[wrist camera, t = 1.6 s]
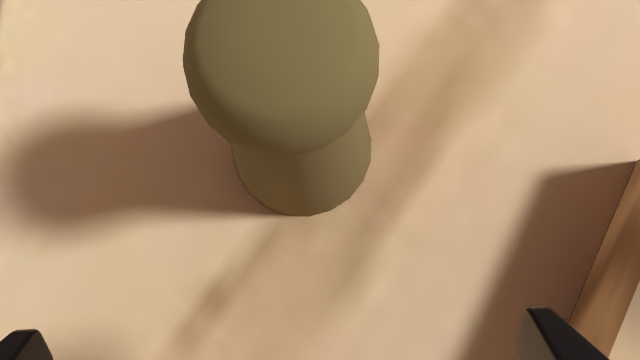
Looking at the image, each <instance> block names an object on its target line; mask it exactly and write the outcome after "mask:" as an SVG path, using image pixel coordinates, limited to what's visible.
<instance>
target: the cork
mask: <svg viewBox="0 0 640 360" xmlns="http://www.w3.org/2000/svg"><path fill="white" fill-rule="evenodd" d="M183 67H184V72H185V76H186V80H187V84H188V88H189V93H190V96H191V98H192V99H193V101H194V102H195V104H196V106H197V107H198V109H199V110H200V112H201V113H202V115H203V116H204V118H205V120H206V121H207V122H208V123H209V125H210V126H211V127H212V128H213V129H215V130H216V131H217V132H218V133H220V134H221V135H222V136H223V137H225V138H226V139H227V140H228V141H230V142H231V147H232V152H233V156H234V160H235V164H236V168H237V172H238V176H239V178H240V179H241V181H242V182H243V184H244V186H245V187H246V189H247V190H248V192H249V193H250V194H251V195H252V196H253V197H254V198H256V199H257V200H258V201H259V202H261V203H262V204H263V205H264V206H266V207H267V208H269V209H272V210H275V211H277V212H280V213H283V214H285V215H294V216H312V215H316V214H319V213H323V212H327V211H330V210H332V209H334V208H335V207H337V206H338V205H340V204H341V203H343V202H344V201H346V200H347V199H349V198H350V197H351V196H352V194H353V193H354V192H355V191H356V189H357V188H358V187H359V186H360V184H361V183H362V182H363V180H364V177H365V174H366V172H367V169H368V166H369V164H370V160H371V137H370V133H369V129H368V125H367V121H366V117H365V113H364V112H365V110H366V109H367V106H368V104H369V101H370V98H371V96H372V93H373V90H374V88H375V85H376V82H377V78H378V74H379V43H378V40H377V37H376V33H375V30H374V27H373V24H372V21H371V18H370V15H369V13H368V10H367V9H366V7H365V6H364V4H363V3H362V2H361V0H201V1H200V2H199V3H198V5H197V7H196V9H195V11H194V13H193V16H192V18H191V20H190V22H189V24H188V27H187V29H186V33H185V43H184V53H183Z"/></svg>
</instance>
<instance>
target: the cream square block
mask: <svg viewBox="0 0 640 360" xmlns="http://www.w3.org/2000/svg"><path fill="white" fill-rule="evenodd" d="M569 324H570V325H571V326H572V327H573V328H575V329H576V330H577V331H578V332H579V333H580V334H581V335H583V336H584V337H585V338H586V339H587V340H588V341H589V342H591V343H592V344H593V345H594V346H595V347H596V348H597V349H599V350H600V351H601V352H602V353H603V354H604V355H606V356H607V357H608V358H609V359H610V360H640V160H637V162H636V164H635V167H634V169H633V172H632V174H631V176H630V179H629V181H628V183H627V186H626V188H625V190H624V193H623V195H622V198H621V200H620V202H619V205H618V207H617V209H616V212H615V214H614V216H613V219H612V221H611V224H610V226H609V228H608V231H607V233H606V235H605V238H604V240H603V243H602V245H601V247H600V250H599V252H598V254H597V257H596V259H595V261H594V264H593V266H592V269H591V271H590V273H589V276H588V278H587V280H586V283H585V285H584V287H583V290H582V292H581V295H580V297H579V299H578V302H577V304H576V306H575V309H574V311H573V313H572V316H571V318H570V321H569Z"/></svg>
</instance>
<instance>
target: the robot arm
mask: <svg viewBox="0 0 640 360" xmlns="http://www.w3.org/2000/svg"><path fill="white" fill-rule="evenodd" d="M518 349H519V353H520V357H521V360H610V359H609V358H608V357H607V356H606V355H604V354H603V353H602V352H601V351H600V350H599V349H597V348H596V347H595V346H594V345H593V344H592V343H591V342H589V341H588V340H587V339H586V338H585V337H584V336H583V335H581V334H580V333H579V332H578V331H577V330H576V329H575V328H573V327H572V326H571V325H570V324H569V323H568V322H567V321H565V320H564V319H563V318H562V317H561V316H560V315H559V314H557V313H556V312H555V311H554V310H553V309H552V308H550V307H548V306H529V307H526V308H525V309H524V312H523V315H522V320H521V324H520V328H519V333H518ZM0 360H53V357H52V354H51V352H50V350H49V348H48V346H47V344H46V342H45V340H44V338H43V336H42V334H41V333H40V332H39V331H38V330H36V329H25V330H16V331H13V332H11V333H10V334H9V335H8V336H6V337H5V338H4V339H3V340H2V341H0Z"/></svg>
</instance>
